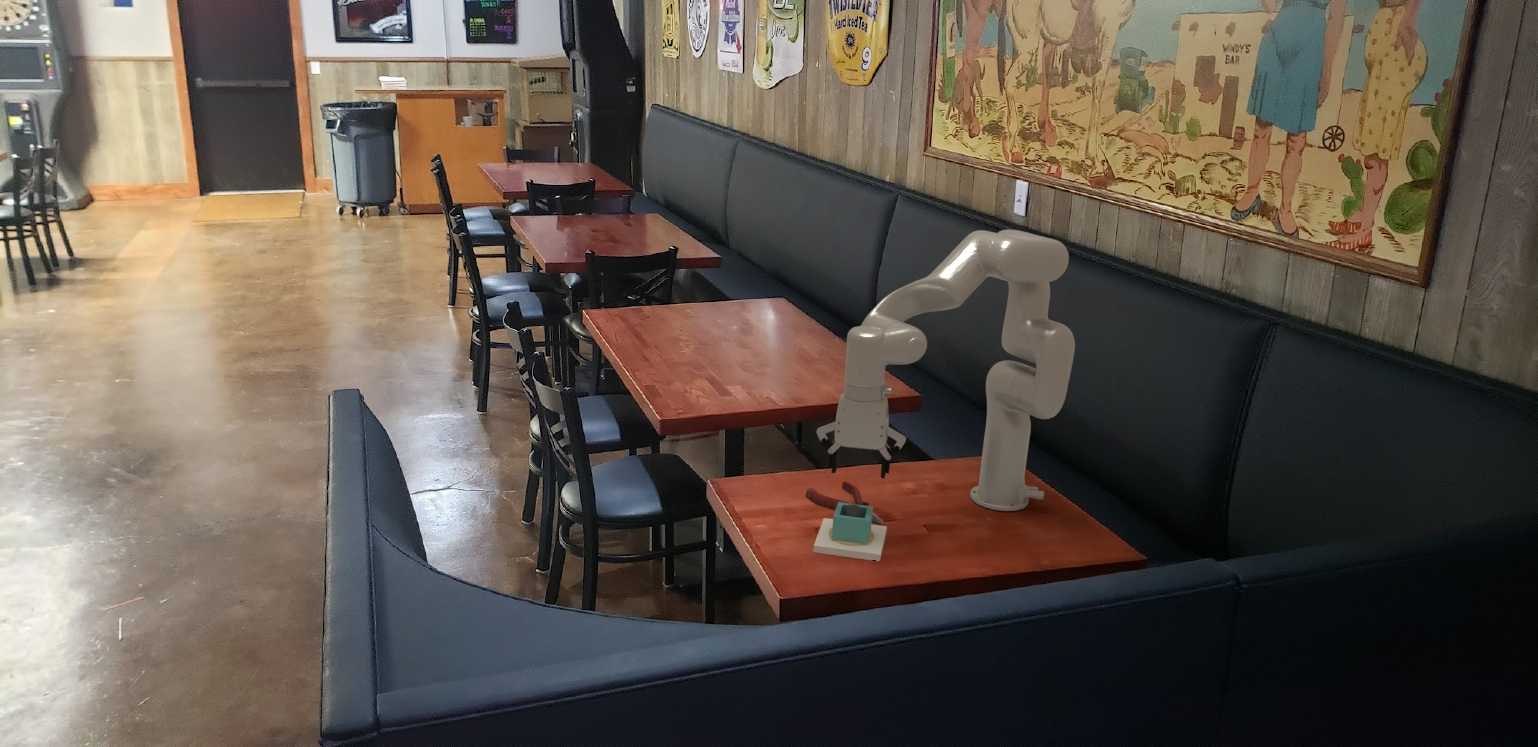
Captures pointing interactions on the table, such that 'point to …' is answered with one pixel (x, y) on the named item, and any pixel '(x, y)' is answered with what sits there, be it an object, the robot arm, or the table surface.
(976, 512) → the table surface
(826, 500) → the pliers
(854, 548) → the post stand
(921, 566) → the table surface
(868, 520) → the collar
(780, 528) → the table surface
